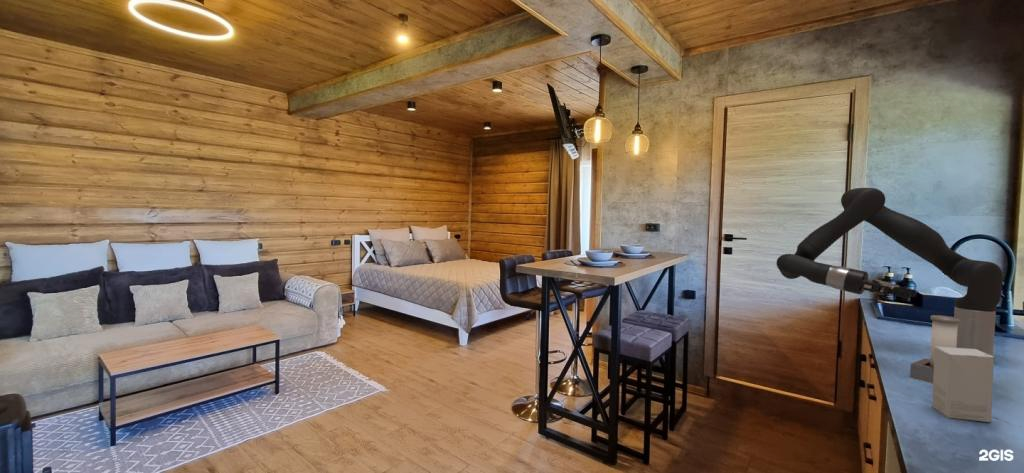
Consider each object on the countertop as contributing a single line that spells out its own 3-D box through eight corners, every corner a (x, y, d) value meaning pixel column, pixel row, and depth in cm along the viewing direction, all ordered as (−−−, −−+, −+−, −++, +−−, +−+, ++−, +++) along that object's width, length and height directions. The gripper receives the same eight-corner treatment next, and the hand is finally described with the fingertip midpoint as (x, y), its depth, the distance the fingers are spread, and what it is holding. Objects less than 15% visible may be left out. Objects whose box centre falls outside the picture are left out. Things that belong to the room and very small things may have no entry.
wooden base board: (938, 367, 134) (939, 351, 134) (989, 379, 124) (990, 362, 124) (908, 380, 123) (908, 363, 122) (961, 394, 113) (962, 376, 113)
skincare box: (973, 411, 103) (977, 348, 102) (993, 424, 97) (997, 357, 96) (929, 406, 106) (933, 344, 105) (946, 418, 100) (950, 352, 99)
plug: (931, 375, 124) (935, 314, 124) (959, 382, 119) (963, 318, 119) (923, 378, 122) (927, 316, 121) (951, 385, 117) (955, 321, 116)
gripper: (843, 268, 133) (912, 283, 120) (855, 267, 142) (920, 281, 129) (837, 291, 134) (904, 308, 121) (849, 289, 143) (913, 305, 130)
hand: (913, 294), depth 125 cm, fingers open, 8 cm apart
